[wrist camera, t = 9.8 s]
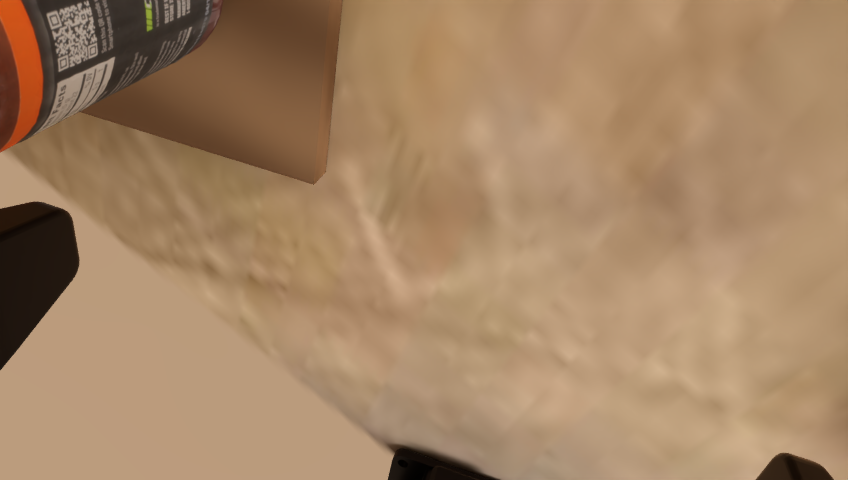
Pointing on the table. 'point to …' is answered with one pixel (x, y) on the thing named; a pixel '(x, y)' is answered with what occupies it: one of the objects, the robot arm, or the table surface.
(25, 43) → the supplement bottle
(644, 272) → the table surface
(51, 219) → the robot arm
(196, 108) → the walnut base
